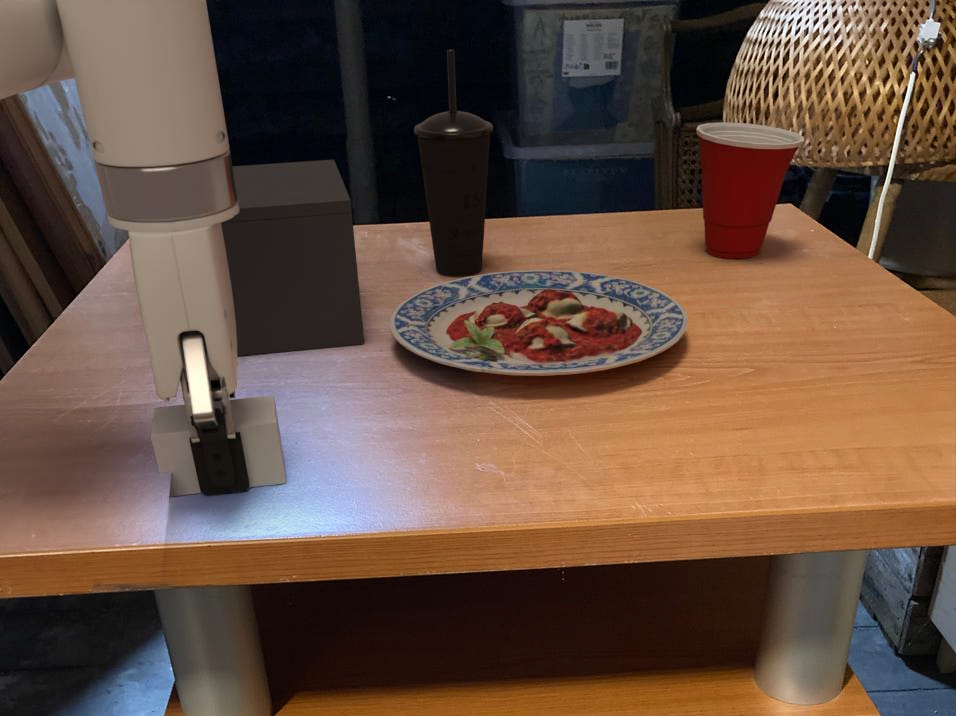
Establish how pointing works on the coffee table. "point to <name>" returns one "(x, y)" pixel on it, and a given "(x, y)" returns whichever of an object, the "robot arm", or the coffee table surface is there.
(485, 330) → the ceramic plate
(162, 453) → the light gray rectangular block
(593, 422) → the coffee table surface
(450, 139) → the drinking cup
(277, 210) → the dark lidded cube box
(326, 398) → the coffee table surface
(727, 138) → the plastic cup
